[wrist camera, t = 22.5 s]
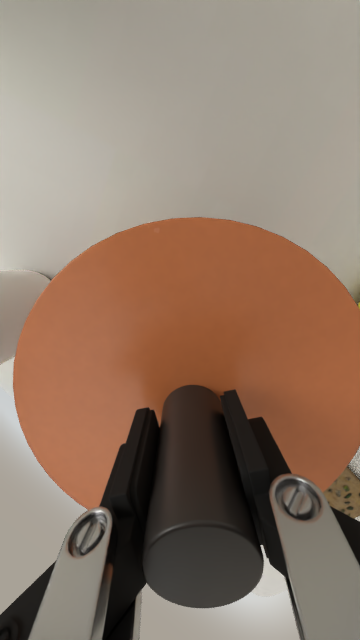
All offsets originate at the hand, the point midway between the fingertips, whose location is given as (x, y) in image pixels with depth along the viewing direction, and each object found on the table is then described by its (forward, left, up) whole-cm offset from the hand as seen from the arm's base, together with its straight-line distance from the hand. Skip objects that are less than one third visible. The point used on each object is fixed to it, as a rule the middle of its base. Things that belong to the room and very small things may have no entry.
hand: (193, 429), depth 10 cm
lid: (0, 0, -2) cm, 2 cm away
